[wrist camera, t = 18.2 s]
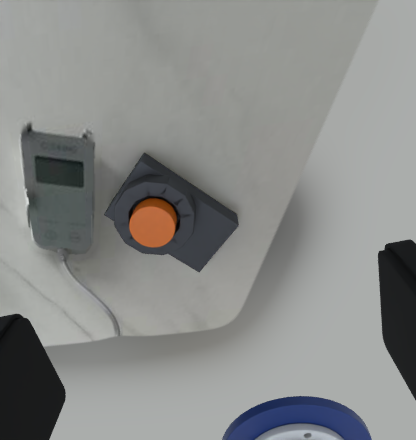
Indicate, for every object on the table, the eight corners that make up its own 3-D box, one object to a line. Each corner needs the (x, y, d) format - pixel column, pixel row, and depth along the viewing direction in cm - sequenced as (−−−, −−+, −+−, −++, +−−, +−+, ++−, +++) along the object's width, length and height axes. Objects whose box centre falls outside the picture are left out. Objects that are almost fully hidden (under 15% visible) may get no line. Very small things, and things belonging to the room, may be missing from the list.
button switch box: (238, 212, 36) (242, 232, 32) (198, 261, 38) (197, 285, 35) (145, 150, 34) (138, 164, 30) (108, 206, 36) (96, 226, 32)
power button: (185, 213, 32) (184, 222, 31) (161, 244, 33) (159, 255, 32) (147, 189, 31) (144, 197, 30) (124, 222, 32) (120, 232, 31)
